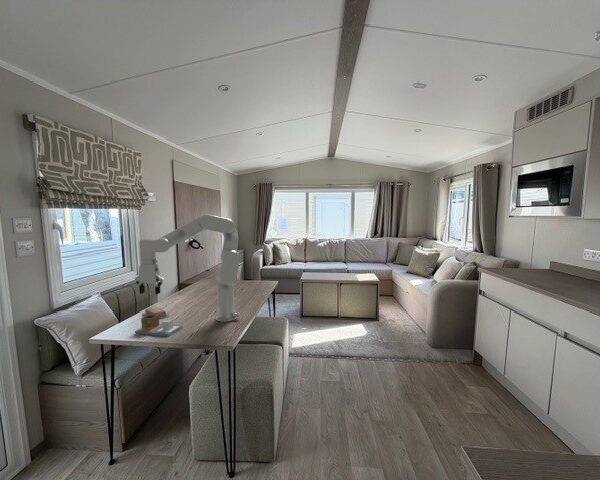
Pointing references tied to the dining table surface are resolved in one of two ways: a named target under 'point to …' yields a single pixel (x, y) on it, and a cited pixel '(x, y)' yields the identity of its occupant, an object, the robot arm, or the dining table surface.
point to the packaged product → (155, 312)
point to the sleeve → (150, 322)
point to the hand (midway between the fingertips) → (150, 293)
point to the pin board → (161, 329)
